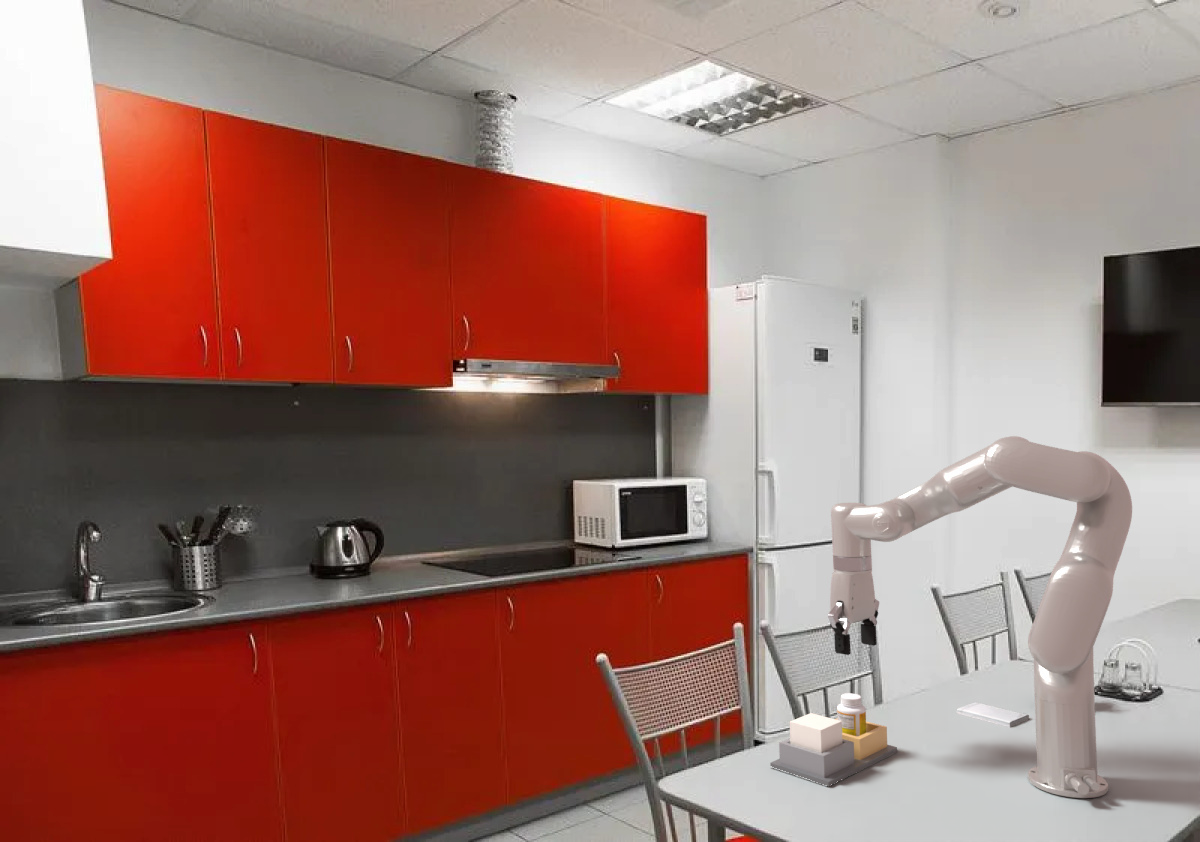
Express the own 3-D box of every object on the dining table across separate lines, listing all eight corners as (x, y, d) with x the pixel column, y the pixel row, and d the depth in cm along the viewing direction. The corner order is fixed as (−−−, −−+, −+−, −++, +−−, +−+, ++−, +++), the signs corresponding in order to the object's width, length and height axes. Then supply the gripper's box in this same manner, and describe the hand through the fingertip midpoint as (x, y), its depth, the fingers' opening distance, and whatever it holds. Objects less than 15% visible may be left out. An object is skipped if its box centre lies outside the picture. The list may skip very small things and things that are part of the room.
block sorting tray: (840, 736, 182) (839, 693, 182) (897, 752, 172) (895, 707, 172) (770, 768, 166) (768, 721, 166) (828, 787, 156) (826, 737, 156)
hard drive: (1029, 714, 189) (976, 700, 199) (1009, 722, 184) (956, 708, 194) (1029, 721, 189) (976, 708, 199) (1009, 730, 184) (956, 715, 194)
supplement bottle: (861, 741, 176) (859, 691, 176) (870, 751, 170) (869, 699, 170) (834, 742, 175) (832, 692, 176) (843, 752, 170) (841, 700, 170)
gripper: (858, 557, 183) (862, 638, 182) (812, 568, 171) (815, 654, 171) (891, 560, 177) (895, 643, 177) (845, 571, 166) (849, 660, 165)
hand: (856, 648), depth 174 cm, fingers open, 9 cm apart
